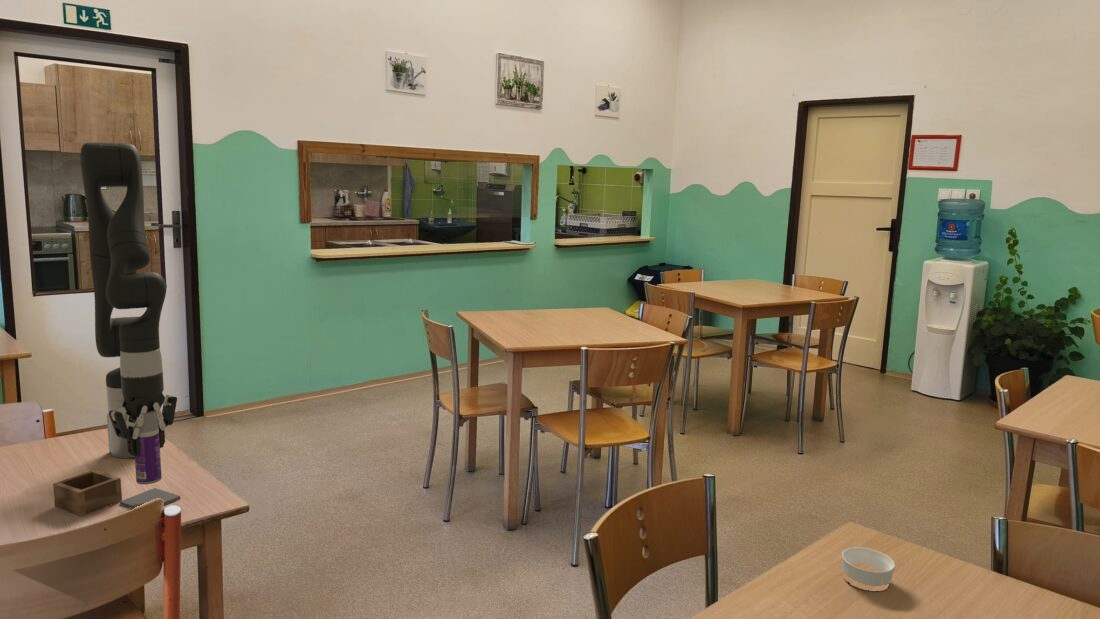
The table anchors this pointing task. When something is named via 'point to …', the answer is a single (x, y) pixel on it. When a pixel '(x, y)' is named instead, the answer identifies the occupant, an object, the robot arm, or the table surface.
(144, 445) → the container
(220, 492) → the table surface
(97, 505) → the holder
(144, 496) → the mat
